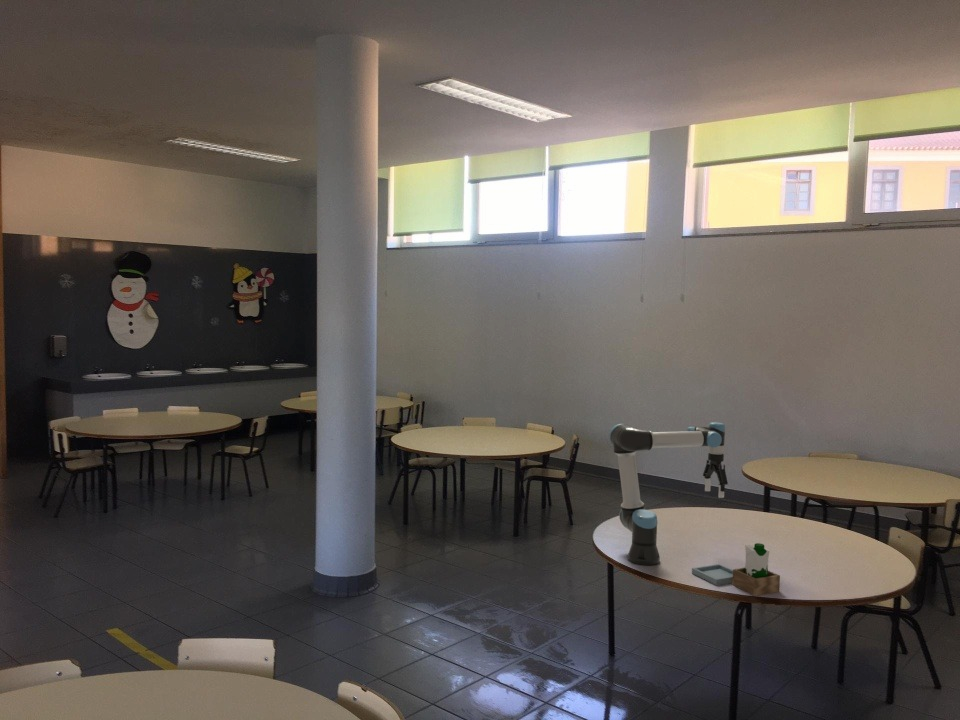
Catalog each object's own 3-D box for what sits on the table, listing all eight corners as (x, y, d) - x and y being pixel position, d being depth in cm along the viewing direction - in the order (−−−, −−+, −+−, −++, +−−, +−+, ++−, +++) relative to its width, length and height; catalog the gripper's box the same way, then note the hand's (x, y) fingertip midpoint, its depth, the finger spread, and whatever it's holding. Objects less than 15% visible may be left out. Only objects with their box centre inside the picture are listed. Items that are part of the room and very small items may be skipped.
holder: (755, 595, 305) (756, 579, 304) (732, 584, 317) (733, 569, 317) (779, 591, 310) (779, 575, 310) (755, 580, 323) (756, 565, 322)
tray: (716, 585, 316) (716, 579, 316) (691, 573, 331) (692, 568, 331) (744, 580, 323) (744, 575, 323) (719, 569, 337) (719, 563, 337)
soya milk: (749, 592, 309) (751, 546, 308) (741, 584, 318) (743, 539, 317) (770, 592, 309) (771, 546, 308) (761, 584, 318) (762, 540, 317)
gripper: (736, 457, 354) (734, 500, 355) (710, 448, 378) (708, 488, 379) (722, 457, 352) (720, 500, 353) (697, 448, 377) (695, 488, 378)
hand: (714, 494), depth 366 cm, fingers open, 13 cm apart
